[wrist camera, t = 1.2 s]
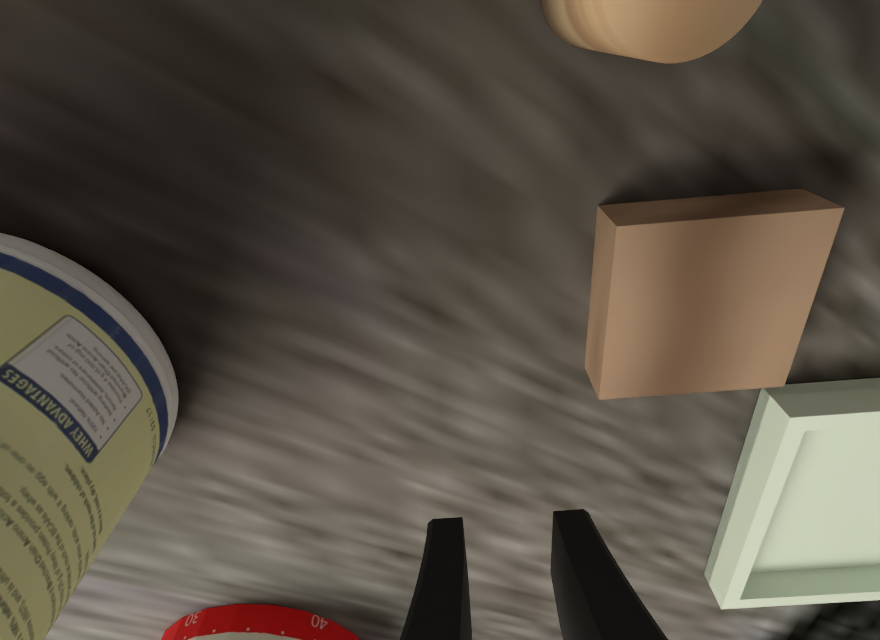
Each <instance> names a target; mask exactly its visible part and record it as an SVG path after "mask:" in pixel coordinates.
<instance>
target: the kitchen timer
mask: <svg viewBox="0 0 880 640" xmlns="http://www.w3.org/2000/svg"><path fill="white" fill-rule="evenodd" d="M161 640H359V638H358V637H357V636H356V635H355V634H353V633H352V632H350V631H348V630H347V629H345V628H344V627H342V626H340V625H339V624H337V623H336V622H334V621H331V620H329V619H326V618H323V617H321V616H318V615H315V614H312V613H310V612H307V611H303V610H298V609H292V608H287V607H282V606H276V605H263V604H234V605H227V606H220V607H213V608H207V609H204V610H201V611H199V612H196V613H193V614H191V615H188V616H185V617H182V618H181V619H180V620H178V621H177V622H176V623H175V624H173V625H172V626H171V627H169V628H168V629H167V630H166V631H165V633H164V635H163V637H162V639H161Z"/></svg>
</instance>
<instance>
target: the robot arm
mask: <svg viewBox="0 0 880 640" xmlns="http://www.w3.org/2000/svg"><path fill="white" fill-rule="evenodd" d="M551 577H552V583H553V589H554V594H555V600H556V606H557V611H558V617H559V623H560V627H561V631H562V635H563V639H564V640H668V639H667V637H666V636H665V635H664V633H663V632H662V630H661V629H660V628H659V626H658V625H657V623H656V622H655V620H654V619H653V617H652V616H651V614H650V613H649V612H648V610H647V609H646V607H645V606H644V604H643V603H642V601H641V600H640V598H639V597H638V595H637V594H636V592H635V591H634V589H633V588H632V586H631V585H630V583H629V582H628V580H627V579H626V577H625V575H624V574H623V572H622V571H621V569H620V567H619V566H618V564H617V563H616V561H615V559H614V558H613V556H612V554H611V553H610V551H609V549H608V548H607V546H606V544H605V542H604V541H603V539H602V537H601V535H600V534H599V532H598V530H597V528H596V526H595V525H594V523H593V521H592V519H591V517H590V515H589V513H588V512H587V511H585V510H584V509H579V510H564V511H553V530H552V552H551ZM400 640H472V628H471V613H470V598H469V583H468V571H467V560H466V550H465V539H464V529H463V518H462V517H458V518H443V519H433V520H431V521H430V522H429V523H428V528H427V537H426V543H425V548H424V554H423V559H422V563H421V568H420V572H419V576H418V580H417V584H416V588H415V591H414V595H413V598H412V602H411V605H410V608H409V612H408V615H407V618H406V622H405V625H404V629H403V632H402V635H401V638H400Z"/></svg>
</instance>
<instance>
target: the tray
mask: <svg viewBox="0 0 880 640" xmlns="http://www.w3.org/2000/svg"><path fill="white" fill-rule="evenodd" d="M704 575H705V577H706V579H707V581H708V583H709V585H710V587H711V589H712V591H713V593H714V595H715V597H716V599H717V602H718V604H719V606H720V608H721V609H733V608H750V607H767V606H785V605H802V604H819V603H836V602H853V601H870V600H880V378H869V379H855V380H841V381H827V382H814V383H800V384H786V385H785V386H783V387H769V388H761V391H760V394H759V397H758V401H757V404H756V407H755V410H754V414H753V417H752V420H751V423H750V427H749V430H748V433H747V436H746V439H745V443H744V446H743V449H742V452H741V456H740V459H739V462H738V465H737V469H736V472H735V475H734V478H733V482H732V485H731V488H730V491H729V495H728V498H727V501H726V504H725V508H724V511H723V514H722V517H721V520H720V524H719V527H718V530H717V533H716V537H715V540H714V543H713V546H712V550H711V553H710V556H709V559H708V563H707V566H706V569H705V572H704Z"/></svg>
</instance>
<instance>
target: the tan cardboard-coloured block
mask: <svg viewBox="0 0 880 640" xmlns="http://www.w3.org/2000/svg"><path fill="white" fill-rule="evenodd" d="M844 209H845V208H844V207H842V206H840V205H838V204H835V203H833V202H831V201H829V200H826V199H824V198H822V197H820V196H818V195H815V194H813V193H811V192H809V191H807V190H804V189H802V188H801V189H789V190H777V191H765V192H753V193H741V194H729V195H717V196H705V197H693V198H681V199H669V200H657V201H645V202H633V203H621V204H609V205H598V207H597V220H596V232H595V245H594V257H593V269H592V282H591V294H590V306H589V319H588V331H587V344H586V356H585V369H586V371H587V374H588V376H589V378H590V381H591V383H592V385H593V387H594V390H595V392H596V394H597V396H598V399H599V400H602V399H616V398H630V397H644V396H658V395H672V394H685V393H699V392H713V391H727V390H741V389H755V388H769V387H783V386H785V383H786V380H787V377H788V374H789V371H790V368H791V365H792V362H793V359H794V356H795V353H796V350H797V347H798V344H799V341H800V338H801V335H802V332H803V330H804V327H805V324H806V321H807V318H808V315H809V312H810V309H811V306H812V303H813V300H814V297H815V294H816V291H817V288H818V285H819V282H820V279H821V276H822V273H823V271H824V268H825V265H826V262H827V259H828V256H829V253H830V250H831V247H832V244H833V241H834V238H835V235H836V232H837V229H838V226H839V223H840V220H841V217H842V215H843V212H844Z"/></svg>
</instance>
